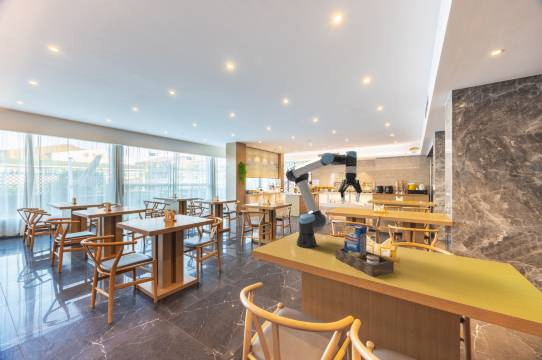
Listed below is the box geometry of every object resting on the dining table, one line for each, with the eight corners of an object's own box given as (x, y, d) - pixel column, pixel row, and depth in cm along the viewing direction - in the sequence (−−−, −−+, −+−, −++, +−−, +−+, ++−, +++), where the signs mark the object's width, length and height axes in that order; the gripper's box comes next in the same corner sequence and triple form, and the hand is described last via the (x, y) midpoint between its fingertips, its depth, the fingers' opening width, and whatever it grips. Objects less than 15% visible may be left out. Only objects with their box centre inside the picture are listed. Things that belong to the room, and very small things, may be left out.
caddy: (335, 258, 139) (336, 249, 139) (354, 255, 145) (354, 246, 145) (372, 276, 113) (373, 265, 113) (393, 272, 120) (393, 261, 120)
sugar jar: (363, 268, 124) (363, 255, 124) (371, 266, 127) (372, 254, 127) (373, 272, 118) (373, 259, 118) (381, 270, 121) (381, 258, 121)
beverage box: (359, 265, 128) (360, 228, 128) (343, 259, 137) (344, 224, 137) (366, 263, 132) (366, 227, 132) (350, 257, 141) (351, 223, 141)
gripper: (341, 171, 148) (340, 203, 148) (367, 173, 158) (367, 202, 158) (333, 172, 155) (333, 201, 155) (359, 173, 165) (359, 201, 165)
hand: (350, 202), depth 156 cm, fingers open, 13 cm apart
